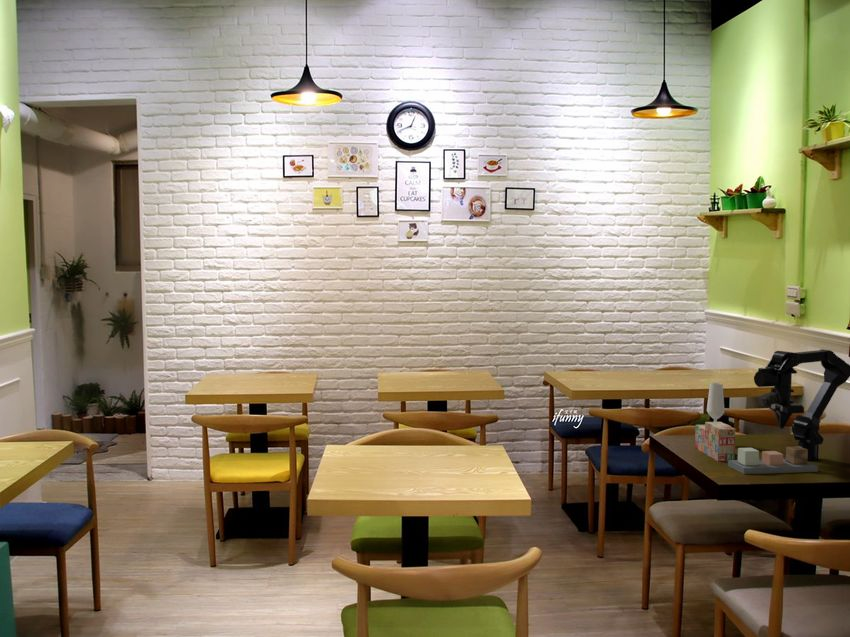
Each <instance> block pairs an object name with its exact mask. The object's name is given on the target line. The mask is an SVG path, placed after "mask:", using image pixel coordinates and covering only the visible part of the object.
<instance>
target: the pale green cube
mask: <svg viewBox="0 0 850 637" xmlns="http://www.w3.org/2000/svg"><path fill="white" fill-rule="evenodd" d="M759 459H760V451H759V450H758V449H756V448H753V447H738V448H737V460H738V462H739V463H741V464H743V465H745V466H749V465H759Z"/></svg>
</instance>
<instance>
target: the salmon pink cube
mask: <svg viewBox="0 0 850 637" xmlns="http://www.w3.org/2000/svg"><path fill="white" fill-rule="evenodd" d="M761 459H762V462H763V463H765V464H767V465H783V459H784V453H781V452H779V451H776V450H763V451H761Z"/></svg>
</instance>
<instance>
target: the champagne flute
mask: <svg viewBox="0 0 850 637" xmlns="http://www.w3.org/2000/svg"><path fill="white" fill-rule="evenodd" d="M723 385H724V384H723V383H722V382H710V383H709V388H708V389H709V390H708V396H707V397H708V398H707V406H706V412H707V413H708V415H709V416H710V418H712V419H713V422H718V420H719V419H720V418H721V417H722V416H723V415H724V414H725V412H726V411H725V399H724V398H725V396H724V386H723Z"/></svg>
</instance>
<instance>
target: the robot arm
mask: <svg viewBox="0 0 850 637" xmlns="http://www.w3.org/2000/svg"><path fill="white" fill-rule="evenodd" d="M817 362H820V364H821V367H823V369H824V372H823V382H822V384H821V386H820V387H819V389H818V391H817V393H816V394H815V396H814V398H813V400H812V401H811V402H810V405H809V407H808V408H807V409H806V410H807V411H806V412H805V406H803V405H802V404H800V403H794V400H792V393H794V392H795V390H794V389H793V388H792V381H793V380H792V378H793V377H792V376H793V375H794V374H797V373H798V371H797V370H795V368H796V367H797V366H799V365H801V364H807V363H817ZM794 367H795V368H794ZM792 374H793V375H792ZM849 378H850V364H849V363H847V361H845V360H844V359H842V358H841V357H839V356H838V355H836V354H835V352H834V351H832V350H830V349H819V350H818V349H817V350H809V351H808V350H807V351H799V352H797V351H796V352H793V351H792V352H791V351H784V350H776V351H774V353H773V355H772V356H771V358H770V359H769V361H768V363H767V364H766V365H765V367H758V370H757V371H756V372H755V374H754V376H753V381H754V382H753V383H754V384H755V386H757V387H758V388H769V387H771V388H770V391H769V392H766V393H764V394H761V395H759V396H757V400H758V403H759V406H762V407H765V408H768V407H769V410H771V411H772V412H773V413H774V415H775V419H776V421H777V425H778V429H780V430H782V429H783V430H784V427H785V426H786V424H787V423H788V421H789V419H790V417H791V416H792V415H793V414H797V415H796V416H795V419H794V421H793V422H792V423H791V424H792V425H791V432H792V434H793V438H794V440H795V441H797V445H796V446H800V447H802V448H805V449H808V459H807V461H822V458H820V457H819V451H820V450H819V448H820V447H819V446H820V445H822V444H823V442H824V437H823V436H822V435H821V434H820V432H819V430H820V419H821V417H822V416H823V413H824V412H825V410H826V409H827V407H828V405H829V403H830V401H831V400H832V398H833V396H834V394H835V393H836V391H837V389H838V388H839V387H840V386H842V385H843V384H845V383H847V381H848V380H849ZM801 414H803V415H801Z"/></svg>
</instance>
